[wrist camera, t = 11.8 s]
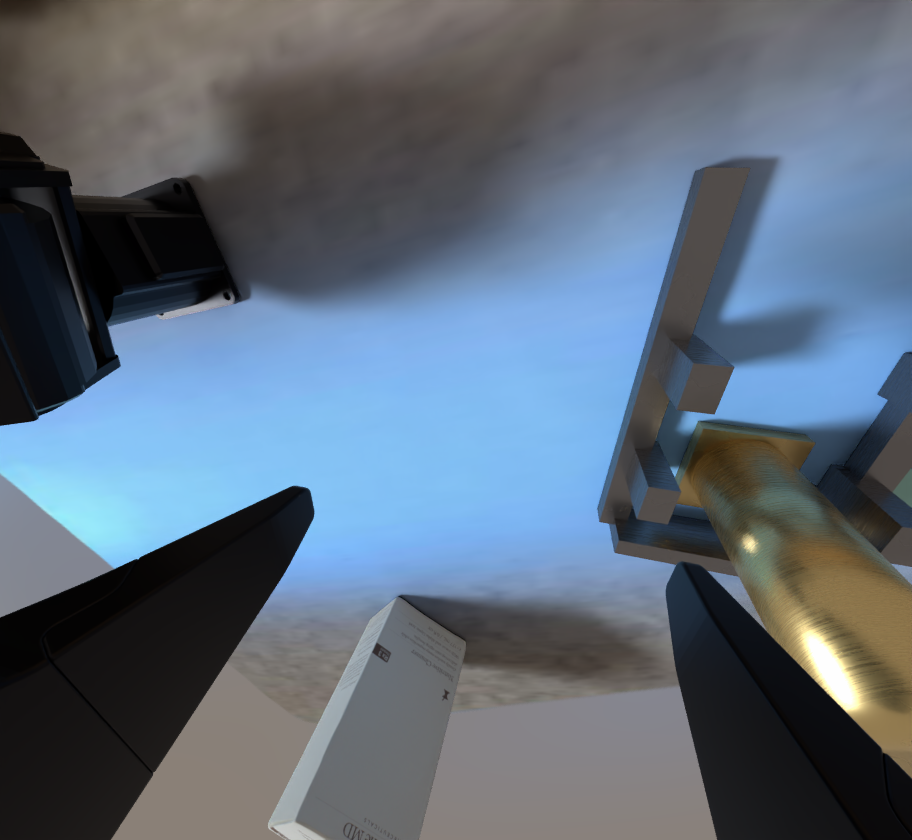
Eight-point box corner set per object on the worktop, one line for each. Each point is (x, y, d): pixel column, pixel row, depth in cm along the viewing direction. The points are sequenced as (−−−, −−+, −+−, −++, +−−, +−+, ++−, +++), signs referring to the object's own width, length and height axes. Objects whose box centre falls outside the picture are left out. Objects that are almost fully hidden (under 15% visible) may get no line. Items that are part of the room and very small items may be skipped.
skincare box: (468, 640, 34) (418, 897, 21) (434, 661, 37) (371, 897, 24) (393, 591, 33) (292, 828, 20) (364, 617, 36) (260, 838, 23)
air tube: (668, 493, 22) (778, 755, 11) (698, 420, 20) (873, 665, 9) (762, 509, 21) (979, 808, 10) (805, 434, 19) (1147, 725, 8)
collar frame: (595, 514, 24) (604, 571, 20) (695, 170, 15) (745, 154, 11) (879, 564, 21) (952, 641, 17) (1215, 177, 12) (1527, 158, 8)
